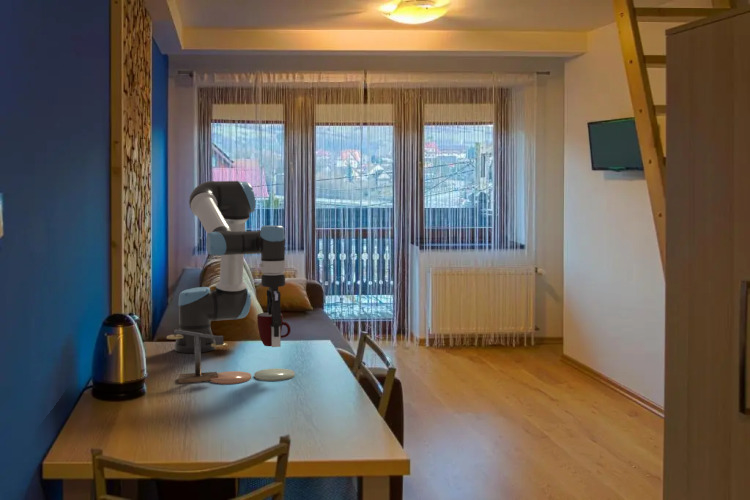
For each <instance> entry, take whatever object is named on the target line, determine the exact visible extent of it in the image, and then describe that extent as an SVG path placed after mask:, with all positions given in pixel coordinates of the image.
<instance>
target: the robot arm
mask: <svg viewBox="0 0 750 500" xmlns="http://www.w3.org/2000/svg"><path fill="white" fill-rule="evenodd" d="M188 205H189V208H190V210H191V212H192V214H193V215H194V216H196V217H198V219H199V222H200V223H201V225H202V227H203V228H204V231H205V233H206V239H205V240H206V241H205V245H206V251H207V253H208V254H209V255H211V256H220V267H219V268H220V271H219V281H218V282H216V284H215V289H213V290H211V288H210V287H209V286H201V287H200V286H199V287H198V286H197V287H193V288H188V289H184V290H183V291H181V292H180V293H179V295H178V303H177V305H178V326H179V328H178V330H183V331H189V332H196V333H202V334H209V335H214V334H213V331H212V329H211V324H212V323H211V322H213V321H227V320H234V321H235V320H236V321H237V320H239V319H243V318H246V317H247V316H248V314H249V312H250V309H251V303H252V298H251V297H252V296H251V295H252V294H251V291H250V290H249V288H247V285H246V284H245V283H244V282H243V280H244V279H243V277H244V260H245V259H244V257H245V256H244V255H258V254H260V258H261V259H260V261H261V263H260V264H259V267H260V268H261V273H262V275H261V278H260V279H261V286H262V287H264V288H268V289H267V290H266V313H269V315H272V324H271V325H270V327H271V331H272V346H271V348H280V347H282V345H281V343H282V342H281V338H280V325H281V324H282V323H281V313H282V311H281V292H280V291H279V287H284V286H285V285H286V275H285V274H284V273H286V258H285V254H286V253H285V251H286V249H285V248H286V247H285V241H286V239H285V238H286V235H285V228H284V226H282V225H263V226H261V228H260V230H258V229H257V230H246V222H247V221H248V220H249V219H250V217H251V216H250V215H251V214H252V213H254V212H255V211H256V198H255V191H254V188H253V186H252V185H251V184H250V183H249V182H247V181H240V180H226V181H225V180H223V181H221V180H220V181H219V180H217V181H215V180H213V181H212V180H209V181H205V182H202V183H200V184H199V185H197V186H196V187H195V188H194V189H193V190H192V192H191V193H190V195H189V199H188ZM275 321H278V322H275ZM177 335H183V338H181V339H175V342H174V351H175V352H177V353H184V354H195V344H194V336H192V335H186V334H179V333H177ZM212 343H215V339H212V338H205V337H200V352H201V353H205V352H211V351H215V350H216V349H217V347H212V346H211V344H212Z"/></svg>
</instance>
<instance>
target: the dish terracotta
mask: <svg viewBox="0 0 750 500" xmlns="http://www.w3.org/2000/svg"><path fill="white" fill-rule="evenodd" d="M217 374H218V378H210V381H209V382H211V383H213V384H217V383H218V384H219V385H220V384H221V385H234V384H235V385H236V384H241V383H242V382H243V383H247V382H249V381H251V380H252V373H250V372H248V371H238V370H236V371H235V370H234V371H232V370H231V371H221V372H217ZM250 379H251V380H250ZM218 384H217V385H218Z"/></svg>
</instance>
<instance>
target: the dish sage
mask: <svg viewBox="0 0 750 500" xmlns="http://www.w3.org/2000/svg"><path fill="white" fill-rule="evenodd" d="M253 374H254V375H253V376H254V379H256V380H259V381H265V382H266V381H267V382H278V381H279V382H280V381H286V380H290V379H293V378H295V376H296V372H295V371H294V370H293V369H287V368H266V369H260V370H257V371H255V372H254V373H253Z"/></svg>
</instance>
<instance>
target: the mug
mask: <svg viewBox="0 0 750 500" xmlns="http://www.w3.org/2000/svg"><path fill="white" fill-rule="evenodd" d="M283 317H284V315H283V313H282V312H281V323H282V324H281V325H280V339H283V338H287V337H289V335H290V334H291V325H290V324H289V323H288V322H286V321H284V319H283ZM256 318H257V319H256V321H257V329H258V334H259V338H260V341H261V343H262V344H263V346H264V347H272V331H271V327H270V325H271V324H272V315H269V313H267V312H260V313H258V314H257V315H256ZM275 322H278V321H275ZM283 326H285V327H286V328H287V332H286V334H283V335H282V330H283Z"/></svg>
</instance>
